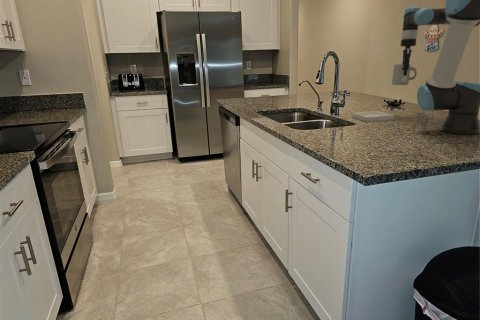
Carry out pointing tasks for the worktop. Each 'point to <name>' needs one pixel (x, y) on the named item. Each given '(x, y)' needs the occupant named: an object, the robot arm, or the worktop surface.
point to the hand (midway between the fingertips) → (403, 81)
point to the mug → (398, 74)
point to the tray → (372, 116)
